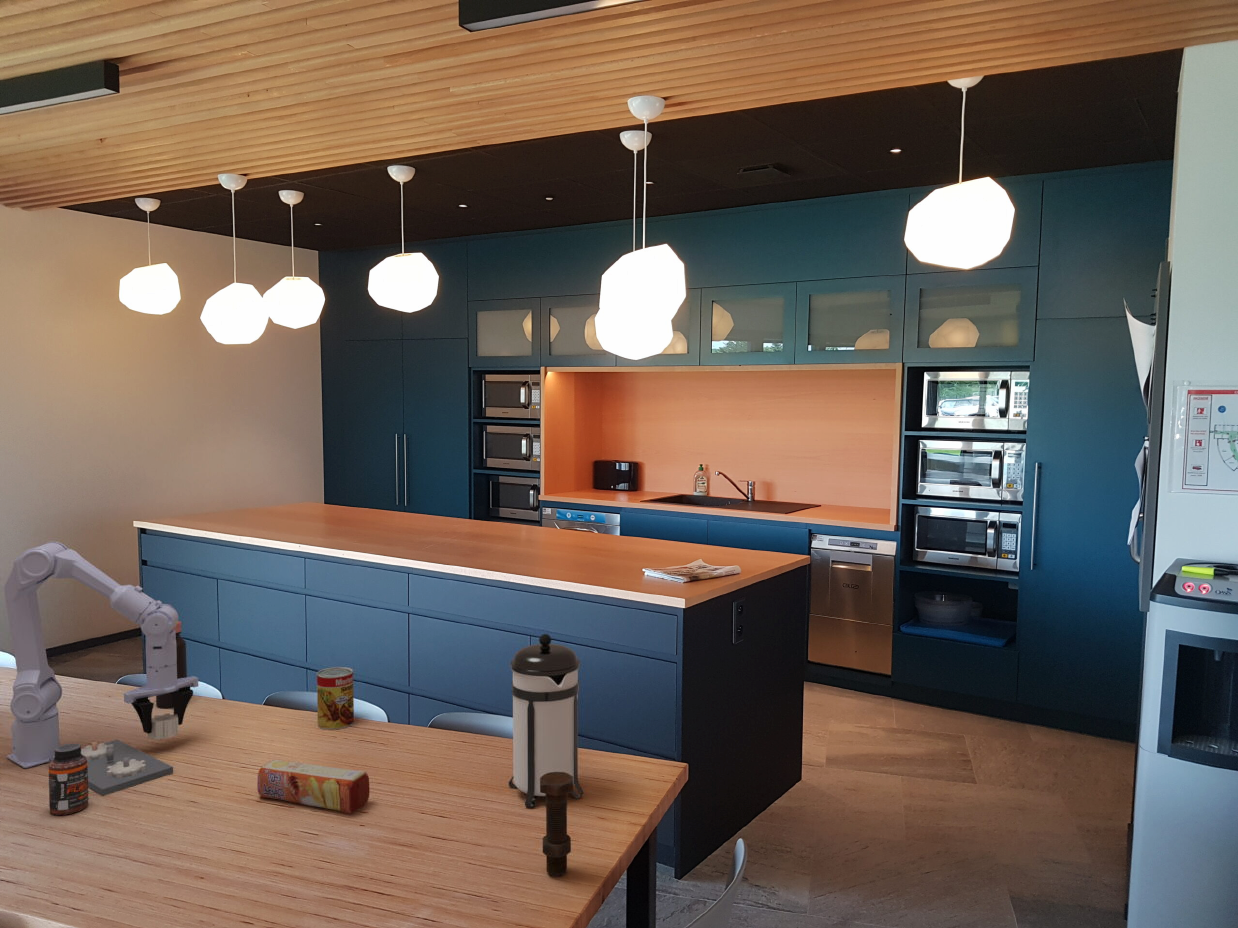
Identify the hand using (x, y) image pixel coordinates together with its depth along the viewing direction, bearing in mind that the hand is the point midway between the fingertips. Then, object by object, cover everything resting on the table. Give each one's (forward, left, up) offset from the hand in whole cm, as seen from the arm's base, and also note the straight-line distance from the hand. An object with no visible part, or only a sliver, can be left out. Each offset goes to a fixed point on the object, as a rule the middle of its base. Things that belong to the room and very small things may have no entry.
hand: (163, 727), depth 186 cm
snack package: (+47, +4, -5) cm, 47 cm away
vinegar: (-27, +15, -5) cm, 31 cm away
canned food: (+16, +31, -5) cm, 35 cm away
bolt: (+99, +12, -5) cm, 100 cm away
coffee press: (+77, +33, -5) cm, 84 cm away
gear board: (+2, -11, -5) cm, 12 cm away
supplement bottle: (+15, -24, -5) cm, 29 cm away
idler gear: (0, 0, -1) cm, 1 cm away
